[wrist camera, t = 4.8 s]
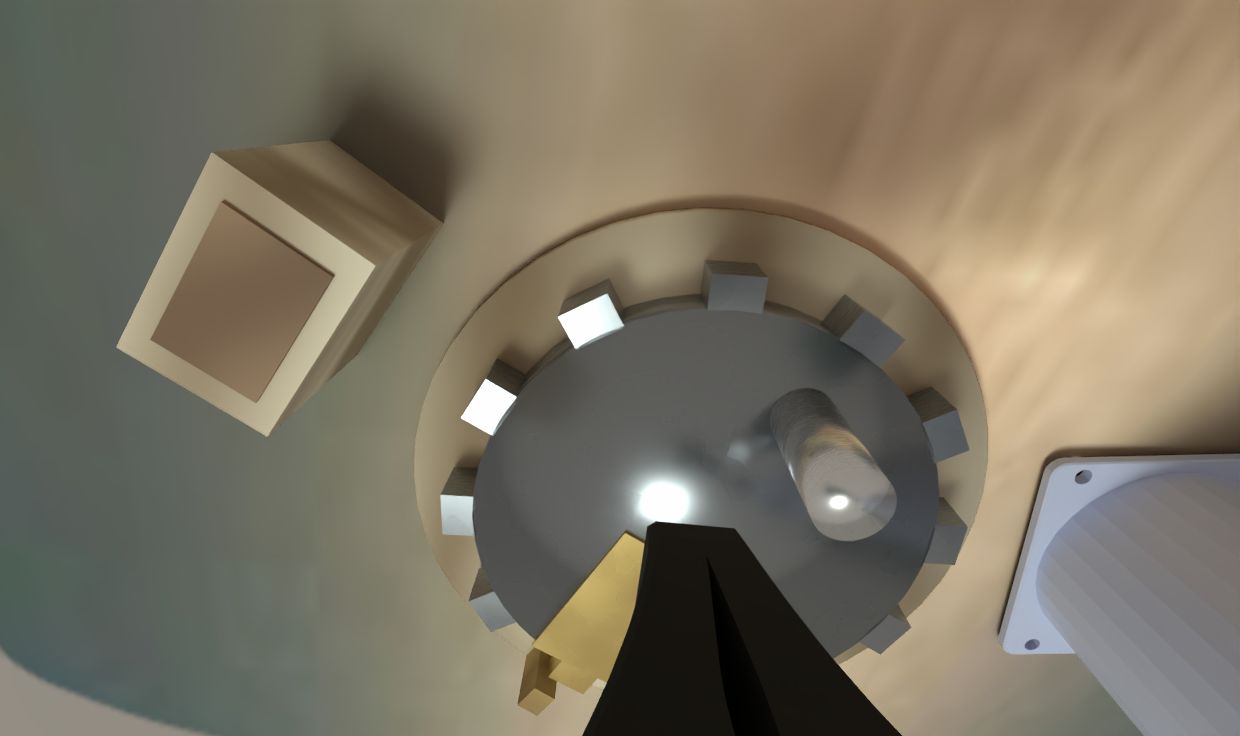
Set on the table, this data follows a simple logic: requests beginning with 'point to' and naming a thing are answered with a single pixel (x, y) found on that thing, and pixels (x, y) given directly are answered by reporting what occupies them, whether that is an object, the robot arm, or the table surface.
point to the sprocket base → (672, 266)
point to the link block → (275, 277)
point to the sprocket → (703, 465)
